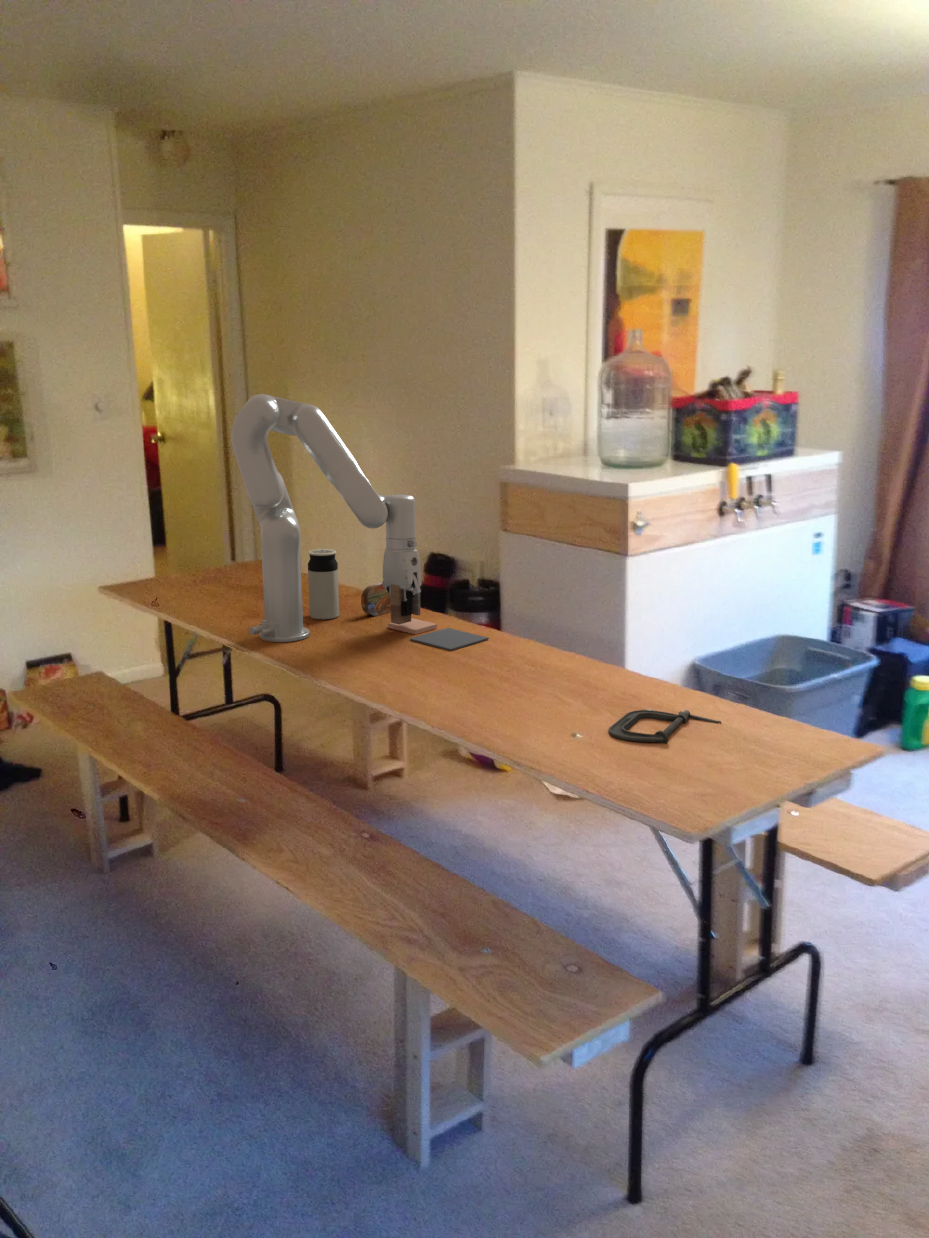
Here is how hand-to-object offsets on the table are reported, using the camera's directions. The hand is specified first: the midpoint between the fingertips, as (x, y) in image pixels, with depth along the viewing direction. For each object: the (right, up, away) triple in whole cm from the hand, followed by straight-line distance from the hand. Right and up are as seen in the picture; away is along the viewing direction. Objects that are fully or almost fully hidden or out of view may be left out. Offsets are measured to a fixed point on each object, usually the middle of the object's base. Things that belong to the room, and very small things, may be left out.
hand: (401, 613), depth 275 cm
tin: (-7, 0, +20) cm, 21 cm away
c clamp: (+54, -23, -68) cm, 90 cm away
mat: (+13, -7, -7) cm, 16 cm away
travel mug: (-22, -1, +15) cm, 27 cm away
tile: (0, -4, +1) cm, 4 cm away
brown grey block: (0, -2, 0) cm, 2 cm away
